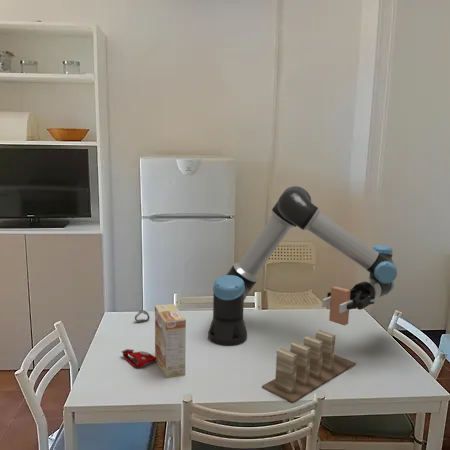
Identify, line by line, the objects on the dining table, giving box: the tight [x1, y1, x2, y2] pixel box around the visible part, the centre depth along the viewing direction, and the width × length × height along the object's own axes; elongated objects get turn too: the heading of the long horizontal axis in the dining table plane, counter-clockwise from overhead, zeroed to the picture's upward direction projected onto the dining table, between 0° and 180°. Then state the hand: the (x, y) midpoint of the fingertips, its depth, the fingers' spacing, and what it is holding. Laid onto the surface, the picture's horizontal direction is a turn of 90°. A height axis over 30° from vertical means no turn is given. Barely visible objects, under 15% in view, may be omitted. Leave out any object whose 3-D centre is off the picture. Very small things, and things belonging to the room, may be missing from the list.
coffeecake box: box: [154, 303, 187, 379], centre depth 157 cm, size 15×7×20 cm, turn 21°
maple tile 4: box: [274, 347, 297, 394], centre depth 144 cm, size 2×6×12 cm, turn 45°
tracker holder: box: [121, 348, 156, 369], centre depth 161 cm, size 12×4×10 cm
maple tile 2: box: [303, 335, 324, 378], centre depth 154 cm, size 2×6×12 cm, turn 45°
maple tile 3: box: [289, 341, 311, 386], centre depth 149 cm, size 2×6×12 cm, turn 45°
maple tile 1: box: [315, 329, 336, 371], centre depth 159 cm, size 2×6×12 cm, turn 45°
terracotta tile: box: [328, 285, 351, 326], centre depth 161 cm, size 2×6×12 cm, turn 45°
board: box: [261, 354, 357, 404], centre depth 155 cm, size 36×12×1 cm, turn 135°
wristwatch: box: [134, 309, 150, 324], centre depth 196 cm, size 4×6×5 cm, turn 122°
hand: (331, 306), depth 157 cm, fingers closed on terracotta tile, 6 cm apart
